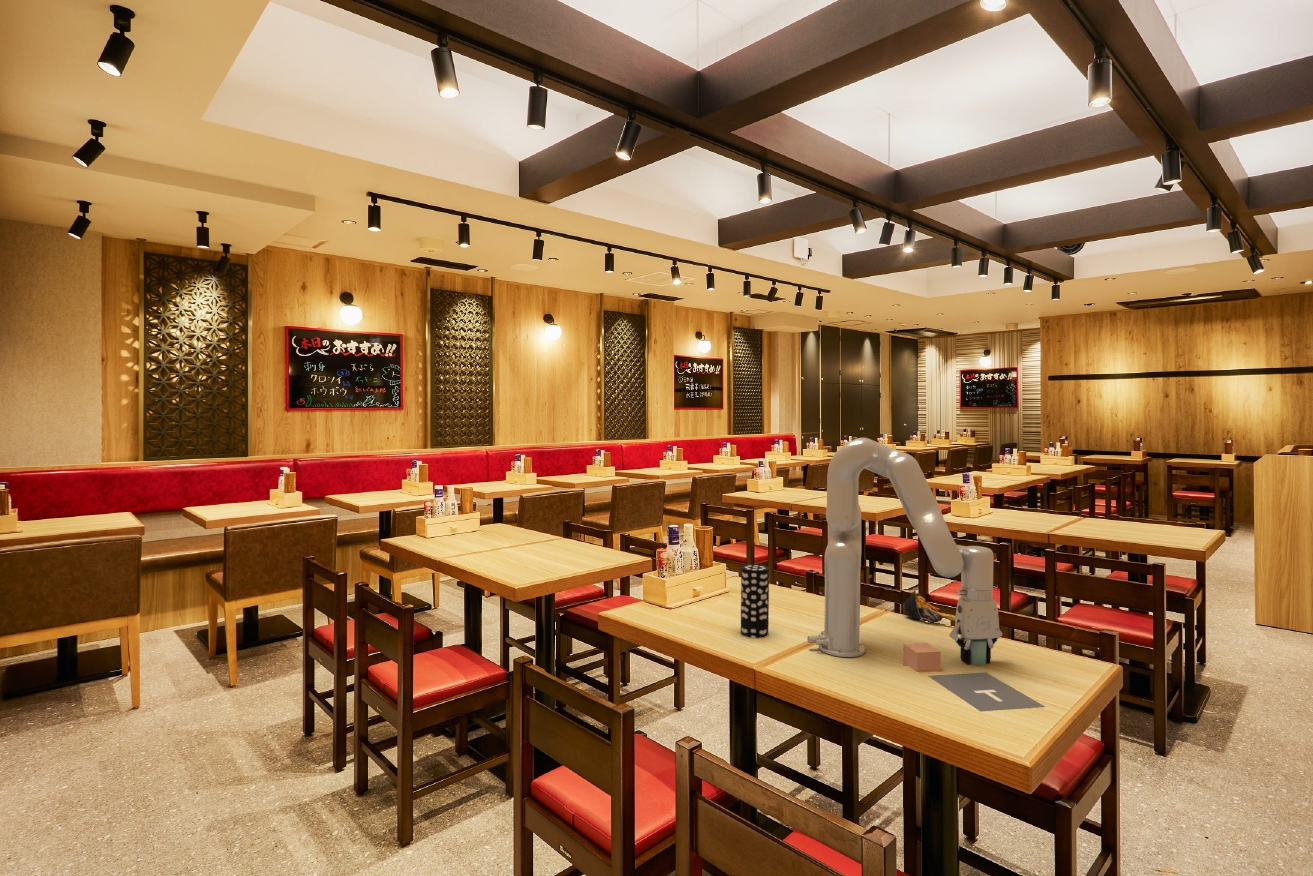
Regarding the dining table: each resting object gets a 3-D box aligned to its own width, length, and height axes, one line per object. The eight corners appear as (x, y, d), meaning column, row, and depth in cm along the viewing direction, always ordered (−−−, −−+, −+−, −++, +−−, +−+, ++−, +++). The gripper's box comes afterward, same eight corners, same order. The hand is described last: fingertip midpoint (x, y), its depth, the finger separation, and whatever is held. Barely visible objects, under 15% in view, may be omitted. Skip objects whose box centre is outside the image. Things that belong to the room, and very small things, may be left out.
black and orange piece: (906, 598, 219) (961, 589, 209) (912, 631, 213) (969, 624, 204) (896, 593, 212) (952, 583, 202) (902, 627, 207) (960, 619, 197)
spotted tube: (739, 636, 192) (739, 569, 191) (742, 628, 200) (742, 564, 199) (767, 639, 190) (768, 571, 189) (769, 630, 198) (770, 565, 197)
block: (916, 676, 163) (917, 652, 163) (903, 666, 169) (903, 643, 169) (940, 674, 164) (940, 651, 164) (925, 665, 170) (926, 642, 170)
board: (980, 715, 141) (980, 711, 141) (927, 679, 160) (927, 675, 160) (1045, 711, 143) (1045, 706, 143) (985, 676, 163) (986, 672, 163)
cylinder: (972, 669, 167) (973, 643, 167) (960, 662, 172) (961, 636, 172) (990, 668, 168) (990, 642, 168) (977, 661, 173) (978, 635, 173)
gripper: (955, 598, 165) (954, 669, 165) (1015, 596, 167) (1014, 666, 168) (938, 591, 172) (937, 658, 172) (996, 589, 175) (994, 655, 175)
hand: (975, 661), depth 170 cm, fingers closed on cylinder, 5 cm apart
